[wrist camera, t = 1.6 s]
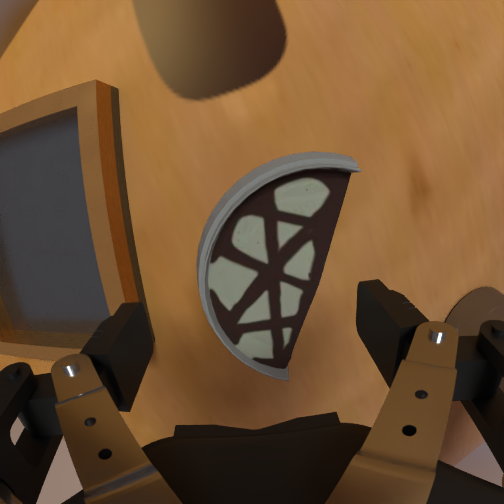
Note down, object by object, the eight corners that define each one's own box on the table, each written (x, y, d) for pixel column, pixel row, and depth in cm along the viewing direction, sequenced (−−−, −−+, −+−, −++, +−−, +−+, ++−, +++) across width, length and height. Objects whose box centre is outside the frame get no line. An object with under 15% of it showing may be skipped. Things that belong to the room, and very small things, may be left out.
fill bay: (118, 88, 21) (95, 79, 17) (154, 339, 27) (142, 366, 23) (-26, 138, 21) (-53, 141, 17) (16, 334, 27) (-3, 353, 23)
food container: (234, 132, 22) (223, 118, 12) (317, 154, 22) (365, 158, 13) (198, 289, 26) (173, 366, 16) (273, 306, 26) (285, 388, 17)
